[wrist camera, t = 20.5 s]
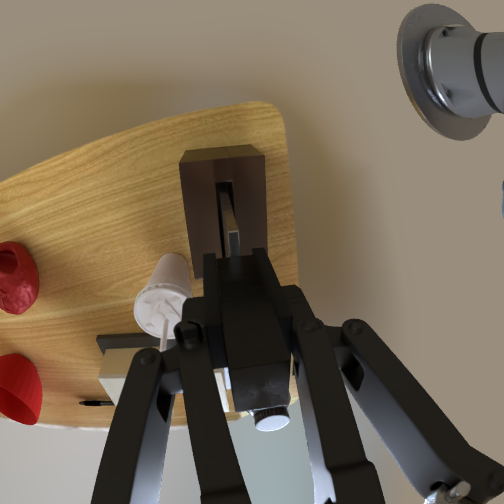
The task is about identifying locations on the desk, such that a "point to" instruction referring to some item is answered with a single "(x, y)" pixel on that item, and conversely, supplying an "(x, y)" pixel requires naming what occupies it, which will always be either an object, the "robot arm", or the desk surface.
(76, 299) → the desk surface
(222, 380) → the cream rectangular block
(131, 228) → the desk surface
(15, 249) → the pomegranate
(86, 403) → the pen
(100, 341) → the cake board
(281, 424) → the supplement bottle
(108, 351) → the cake
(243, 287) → the knife
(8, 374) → the ceramic cup
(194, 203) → the knife block
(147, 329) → the smoothie
